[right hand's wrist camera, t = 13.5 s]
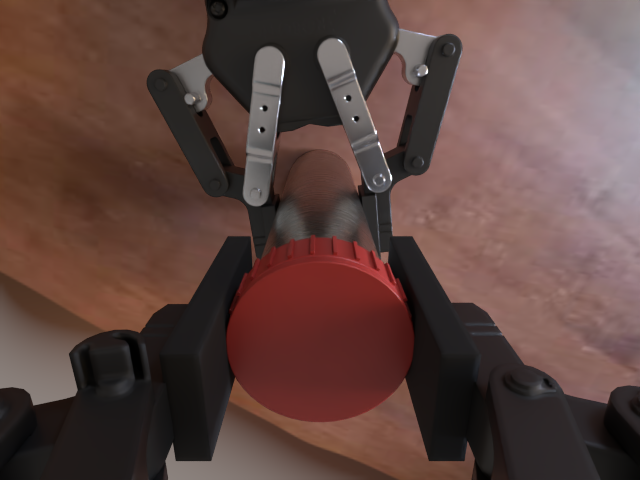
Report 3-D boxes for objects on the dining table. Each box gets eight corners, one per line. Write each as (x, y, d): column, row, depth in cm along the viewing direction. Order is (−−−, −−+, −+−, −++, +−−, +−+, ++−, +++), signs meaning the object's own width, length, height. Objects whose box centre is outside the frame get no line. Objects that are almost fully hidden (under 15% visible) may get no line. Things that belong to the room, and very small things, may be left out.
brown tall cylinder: (312, 136, 27) (299, 232, 10) (365, 174, 28) (434, 322, 11) (275, 189, 28) (209, 354, 11) (327, 224, 29) (337, 426, 12)
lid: (298, 198, 11) (294, 218, 9) (441, 295, 12) (459, 328, 10) (203, 330, 12) (186, 367, 11) (338, 408, 13) (340, 451, 12)
